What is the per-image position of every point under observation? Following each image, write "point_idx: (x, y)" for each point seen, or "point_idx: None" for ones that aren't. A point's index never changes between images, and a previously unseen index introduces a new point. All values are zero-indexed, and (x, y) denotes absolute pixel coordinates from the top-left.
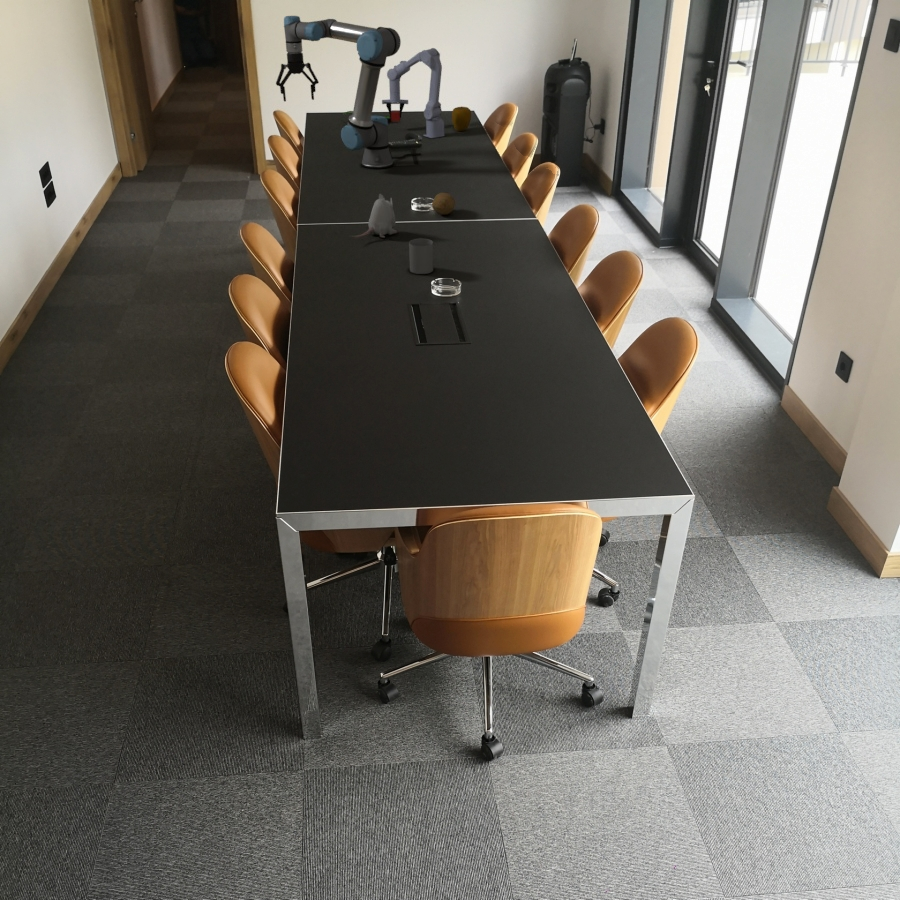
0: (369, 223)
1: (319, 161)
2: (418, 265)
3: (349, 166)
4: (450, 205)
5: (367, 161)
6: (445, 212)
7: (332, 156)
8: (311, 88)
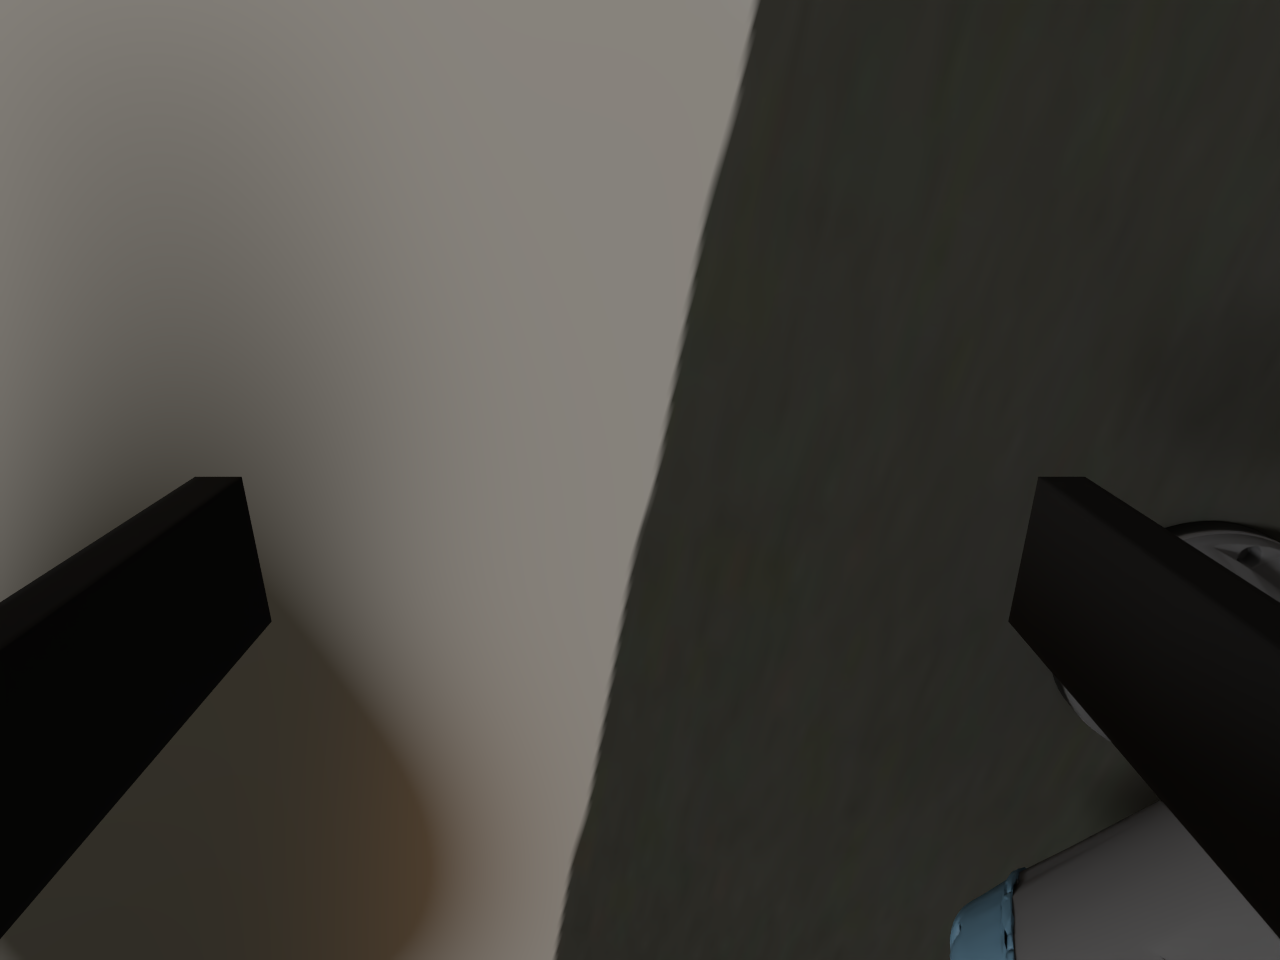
0: None
1: (767, 388)
2: None
3: (956, 607)
4: None
5: (1093, 722)
6: None
7: (935, 238)
8: (1233, 841)
